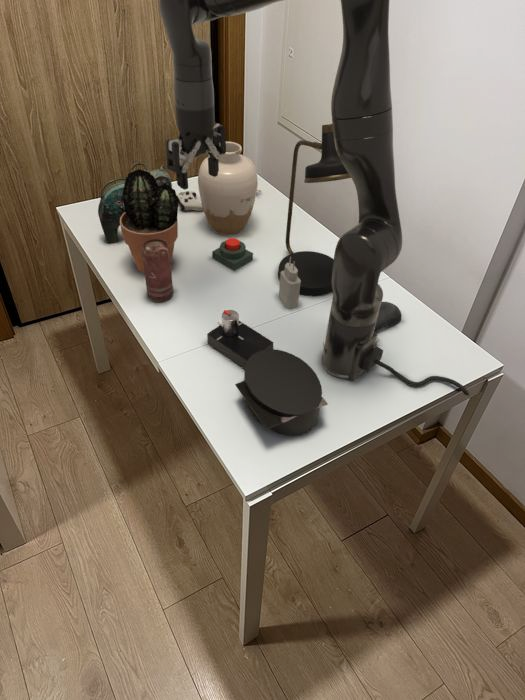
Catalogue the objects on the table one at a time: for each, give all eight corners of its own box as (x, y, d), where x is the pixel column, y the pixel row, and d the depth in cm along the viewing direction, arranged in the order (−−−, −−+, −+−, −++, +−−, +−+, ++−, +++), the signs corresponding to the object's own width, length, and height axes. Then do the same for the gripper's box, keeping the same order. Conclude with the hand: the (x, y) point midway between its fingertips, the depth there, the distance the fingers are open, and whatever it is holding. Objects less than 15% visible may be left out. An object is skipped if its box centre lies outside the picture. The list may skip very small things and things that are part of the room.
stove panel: (272, 352, 115) (273, 341, 113) (247, 371, 111) (248, 360, 108) (230, 324, 121) (230, 313, 119) (204, 341, 117) (204, 331, 114)
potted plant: (142, 286, 129) (128, 191, 112) (117, 259, 137) (101, 166, 120) (190, 269, 136) (185, 176, 118) (164, 244, 143) (156, 153, 126)
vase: (236, 247, 144) (237, 166, 128) (188, 229, 149) (184, 149, 133) (265, 222, 154) (270, 144, 138) (219, 206, 159) (219, 129, 143)
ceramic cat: (171, 222, 151) (166, 154, 137) (179, 234, 147) (173, 164, 133) (101, 235, 145) (88, 165, 131) (106, 248, 141) (93, 176, 127)
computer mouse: (413, 323, 124) (417, 310, 122) (370, 348, 117) (374, 336, 115) (381, 301, 130) (384, 288, 127) (338, 324, 123) (341, 311, 120)
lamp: (300, 305, 127) (319, 147, 100) (258, 258, 141) (265, 107, 114) (356, 288, 133) (388, 134, 106) (310, 244, 146) (329, 98, 120)
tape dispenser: (288, 365, 114) (288, 339, 109) (335, 422, 102) (338, 395, 97) (226, 389, 109) (224, 362, 104) (268, 451, 97) (268, 424, 92)
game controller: (206, 208, 156) (191, 197, 152) (194, 221, 157) (179, 211, 153) (196, 193, 162) (182, 181, 158) (185, 206, 164) (170, 195, 160)
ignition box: (252, 260, 140) (253, 247, 137) (234, 271, 136) (234, 258, 133) (230, 248, 143) (230, 235, 141) (212, 258, 139) (211, 245, 137)
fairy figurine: (213, 180, 163) (246, 168, 167) (215, 194, 167) (247, 182, 171) (233, 196, 157) (267, 183, 161) (235, 210, 160) (268, 197, 164)
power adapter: (287, 309, 126) (291, 267, 118) (277, 295, 129) (281, 254, 121) (298, 306, 127) (304, 264, 119) (289, 292, 130) (293, 251, 122)
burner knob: (241, 331, 115) (242, 314, 112) (230, 339, 113) (230, 322, 110) (229, 323, 117) (230, 306, 113) (218, 331, 115) (218, 314, 111)
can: (169, 305, 125) (164, 255, 115) (144, 300, 126) (136, 250, 116) (177, 289, 129) (173, 240, 120) (152, 285, 130) (146, 236, 120)
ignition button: (242, 247, 137) (242, 241, 136) (232, 253, 135) (232, 247, 134) (232, 242, 139) (232, 236, 138) (222, 247, 137) (222, 241, 136)
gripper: (179, 116, 96) (185, 199, 107) (234, 98, 104) (234, 176, 115) (152, 105, 100) (161, 186, 111) (208, 88, 108) (210, 165, 119)
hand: (198, 181), depth 113 cm, fingers open, 8 cm apart
